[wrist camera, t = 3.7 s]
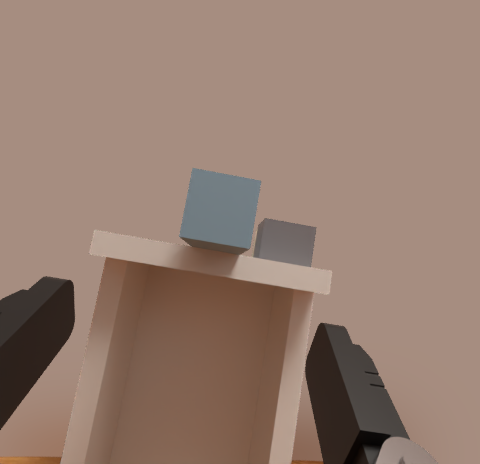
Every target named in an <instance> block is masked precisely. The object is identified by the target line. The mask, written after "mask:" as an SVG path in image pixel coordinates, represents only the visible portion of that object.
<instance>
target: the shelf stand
mask: <svg viewBox="0 0 480 464" xmlns="http://www.w3.org/2000/svg"><path fill="white" fill-rule="evenodd" d="M89 254H92V255H98V256H103V257H106V260H105V265H104V269H103V274H102V278H101V283H100V287H99V292H98V297H97V301H96V305H95V310H94V314H93V319H92V323H91V328H90V333H89V337H88V341H87V346H86V350H85V355H84V359H83V364H82V368H81V373H80V377H79V382H78V386H77V391H76V395H75V400H74V404H73V409H72V413H71V417H70V422H69V427H68V431H67V435H66V440H65V444H64V449H63V453H62V458H61V462H60V464H291V460H292V452H293V445H294V438H295V431H296V423H297V416H298V409H299V401H300V393H301V387H302V380H303V372H304V365H305V357H306V351H307V342H308V336H309V329H310V321H311V314H312V307H313V299H314V292H316V293H322V294H327V295H329V294H330V286H331V279H332V271H329V270H323V269H317V268H311V267H306V266H300V265H294V264H289V263H283V262H277V261H271V260H266V259H260V258H254V257H248V256H242V255H237V254H231V253H225V252H220V251H214V250H208V249H202V248H196V247H190V246H185V245H179V244H173V243H168V242H162V241H156V240H150V239H144V238H139V237H133V236H127V235H122V234H116V233H110V232H104V231H98V230H94V234H93V239H92V243H91V247H90V251H89Z"/></svg>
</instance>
